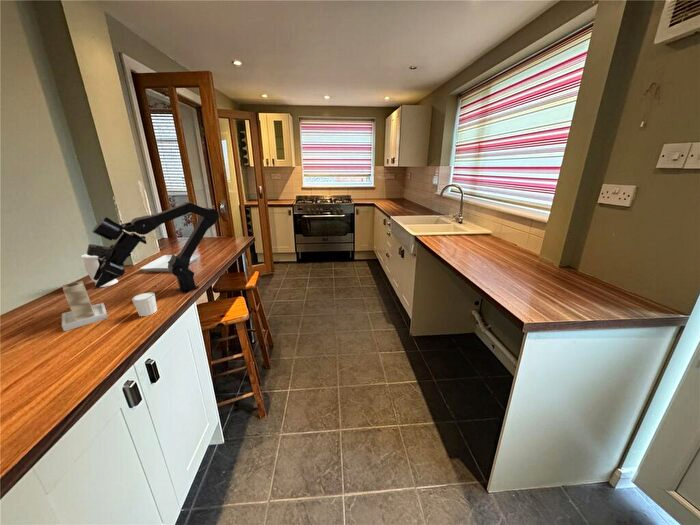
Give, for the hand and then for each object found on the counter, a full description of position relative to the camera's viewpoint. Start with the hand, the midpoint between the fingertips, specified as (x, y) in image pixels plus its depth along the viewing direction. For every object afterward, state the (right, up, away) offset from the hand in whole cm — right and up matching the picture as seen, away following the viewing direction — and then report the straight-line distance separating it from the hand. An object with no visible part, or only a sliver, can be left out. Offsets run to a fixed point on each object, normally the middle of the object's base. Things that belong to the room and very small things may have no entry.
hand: (95, 283), depth 101 cm
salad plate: (-4, +5, +51) cm, 51 cm away
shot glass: (+17, -12, +3) cm, 21 cm away
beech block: (-4, -12, 0) cm, 13 cm away
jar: (-21, -3, +29) cm, 36 cm away
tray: (-4, -13, 0) cm, 13 cm away
